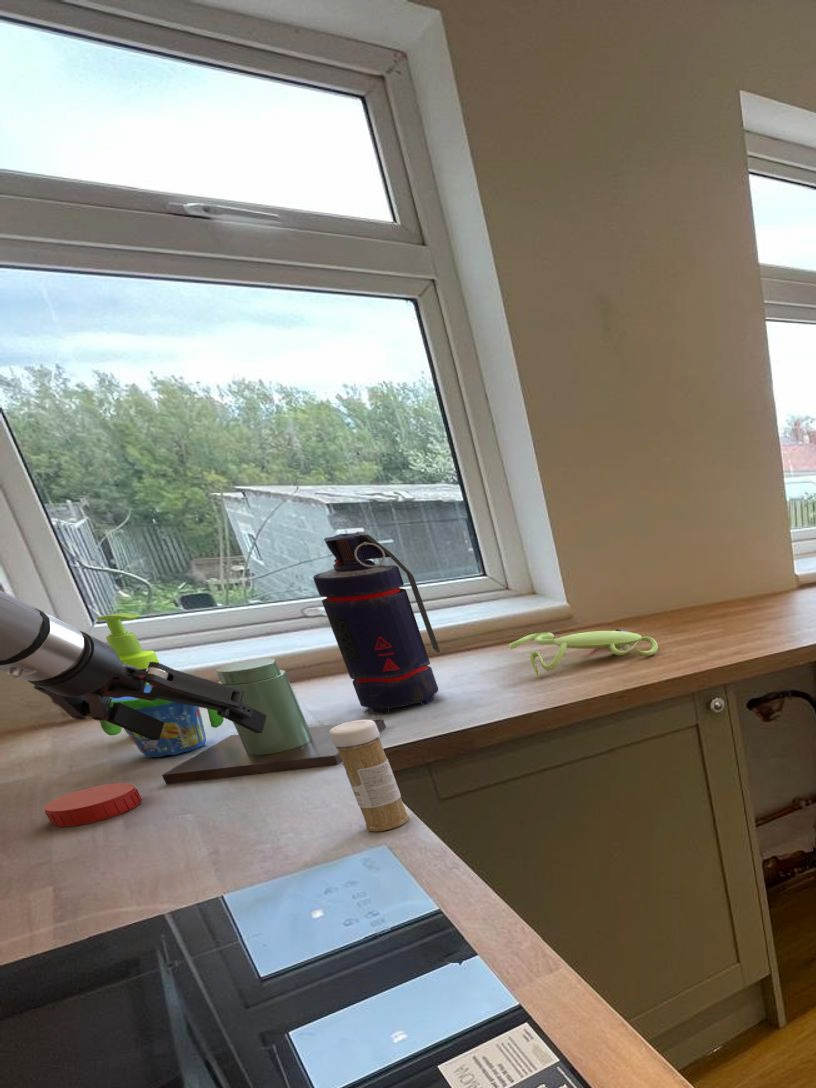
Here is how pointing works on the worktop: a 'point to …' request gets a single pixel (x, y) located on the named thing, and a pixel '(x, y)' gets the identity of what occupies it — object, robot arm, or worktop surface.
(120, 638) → the soap dispenser
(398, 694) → the grenade
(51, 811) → the lid
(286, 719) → the jar
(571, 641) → the figurine
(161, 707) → the snack cup
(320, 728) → the board
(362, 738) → the sprinkles bottle
